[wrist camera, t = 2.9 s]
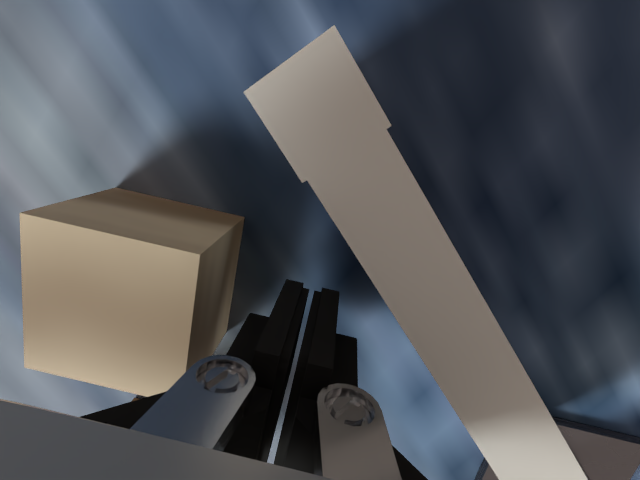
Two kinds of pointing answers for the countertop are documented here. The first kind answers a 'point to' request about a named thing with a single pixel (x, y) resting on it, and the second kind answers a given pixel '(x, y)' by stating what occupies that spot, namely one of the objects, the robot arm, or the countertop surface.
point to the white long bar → (408, 254)
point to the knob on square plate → (592, 452)
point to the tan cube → (125, 288)
